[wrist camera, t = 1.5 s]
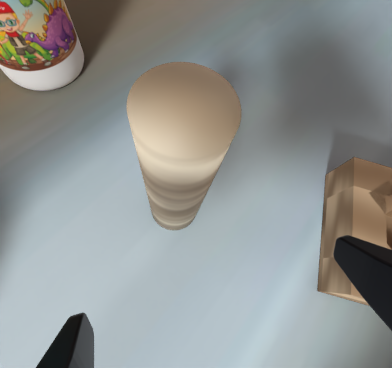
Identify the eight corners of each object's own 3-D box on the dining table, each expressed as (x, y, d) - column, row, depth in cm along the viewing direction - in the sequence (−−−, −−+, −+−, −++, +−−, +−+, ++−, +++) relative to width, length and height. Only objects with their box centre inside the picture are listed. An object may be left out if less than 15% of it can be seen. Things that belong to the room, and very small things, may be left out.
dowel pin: (190, 235, 21) (228, 172, 8) (145, 223, 21) (108, 137, 8) (201, 193, 22) (250, 79, 9) (159, 181, 22) (148, 49, 9)
